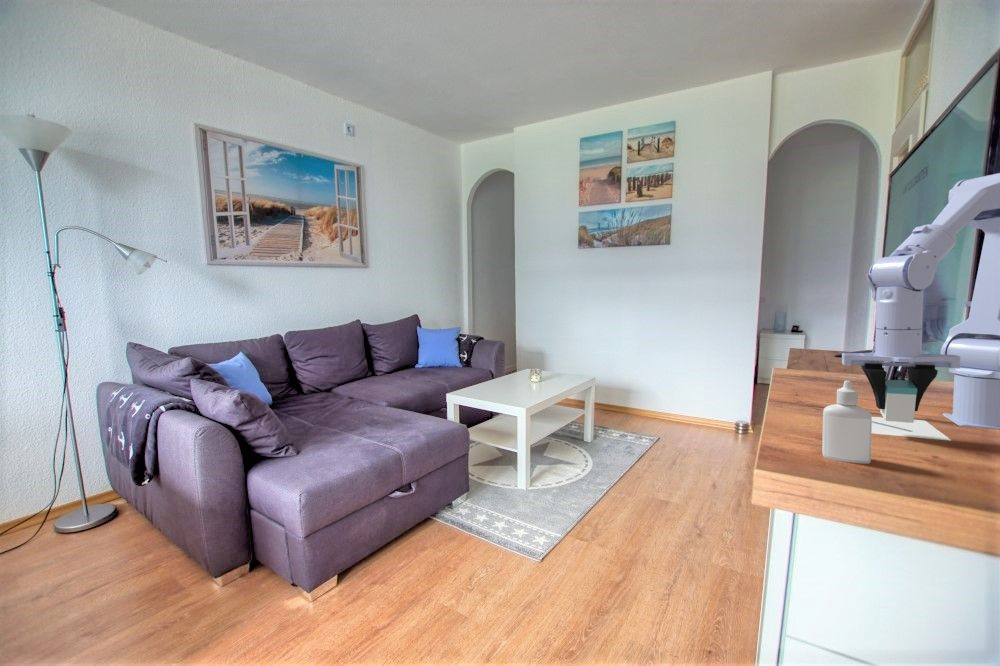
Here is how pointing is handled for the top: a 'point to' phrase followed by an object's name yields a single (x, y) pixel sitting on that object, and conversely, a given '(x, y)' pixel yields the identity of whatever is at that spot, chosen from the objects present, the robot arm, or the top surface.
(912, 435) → the paper
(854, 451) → the eye dropper bottle
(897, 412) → the white and teal box
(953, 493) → the top surface
